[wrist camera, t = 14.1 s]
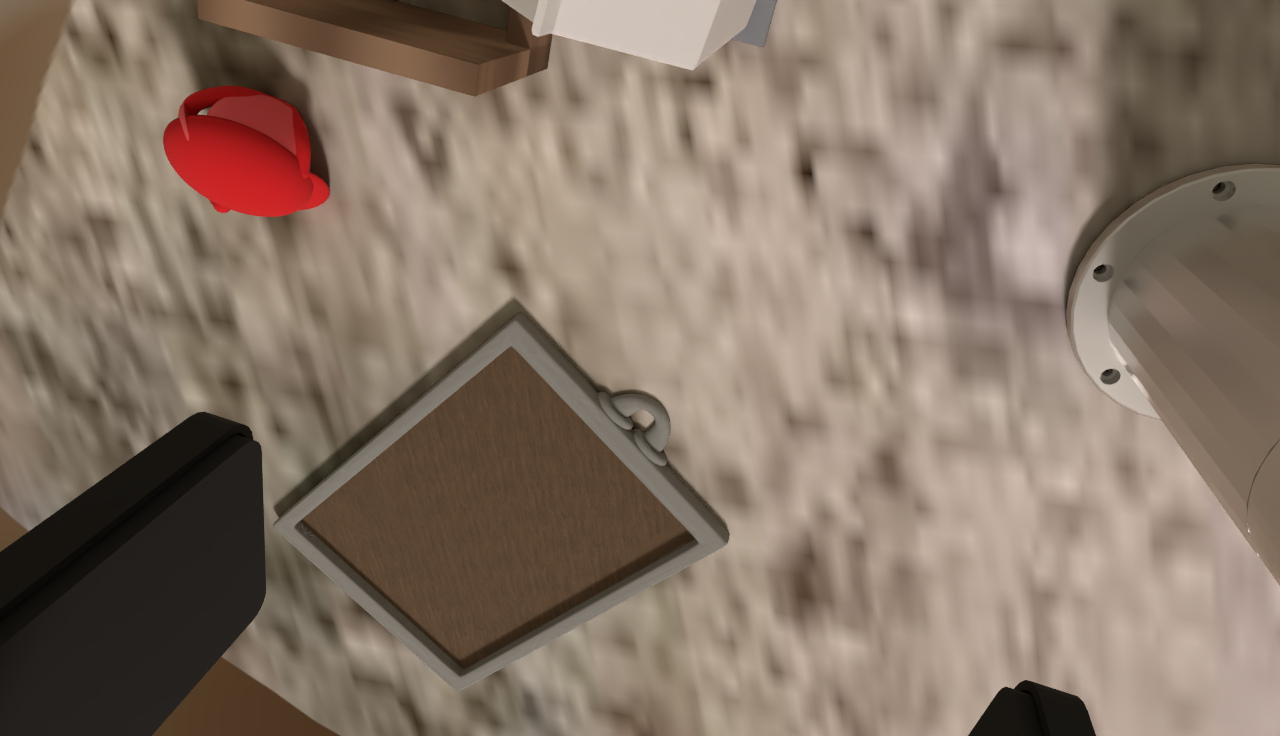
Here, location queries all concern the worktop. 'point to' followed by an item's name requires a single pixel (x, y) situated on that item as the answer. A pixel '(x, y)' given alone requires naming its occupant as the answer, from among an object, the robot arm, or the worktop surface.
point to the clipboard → (503, 510)
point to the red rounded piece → (244, 152)
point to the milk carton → (642, 25)
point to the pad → (757, 24)
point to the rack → (394, 38)
